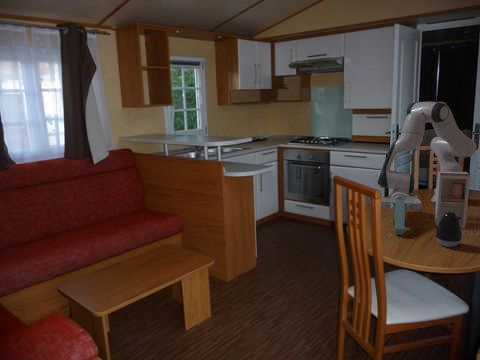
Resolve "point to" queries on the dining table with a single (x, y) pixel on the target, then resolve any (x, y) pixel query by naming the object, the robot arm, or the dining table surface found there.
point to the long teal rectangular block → (399, 217)
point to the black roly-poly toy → (449, 230)
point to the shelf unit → (444, 196)
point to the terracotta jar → (456, 190)
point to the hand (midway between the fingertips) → (399, 208)
